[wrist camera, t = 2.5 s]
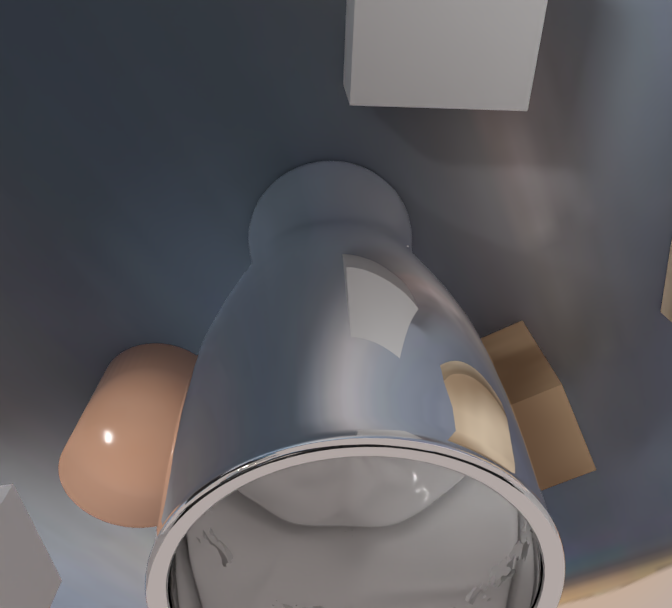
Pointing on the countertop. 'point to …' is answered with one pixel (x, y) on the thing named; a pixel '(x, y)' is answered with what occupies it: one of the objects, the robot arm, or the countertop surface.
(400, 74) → the grey plastic box
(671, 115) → the countertop surface
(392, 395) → the silver metal cup
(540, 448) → the oak cube
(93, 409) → the peach rounded capsule
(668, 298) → the beech board
